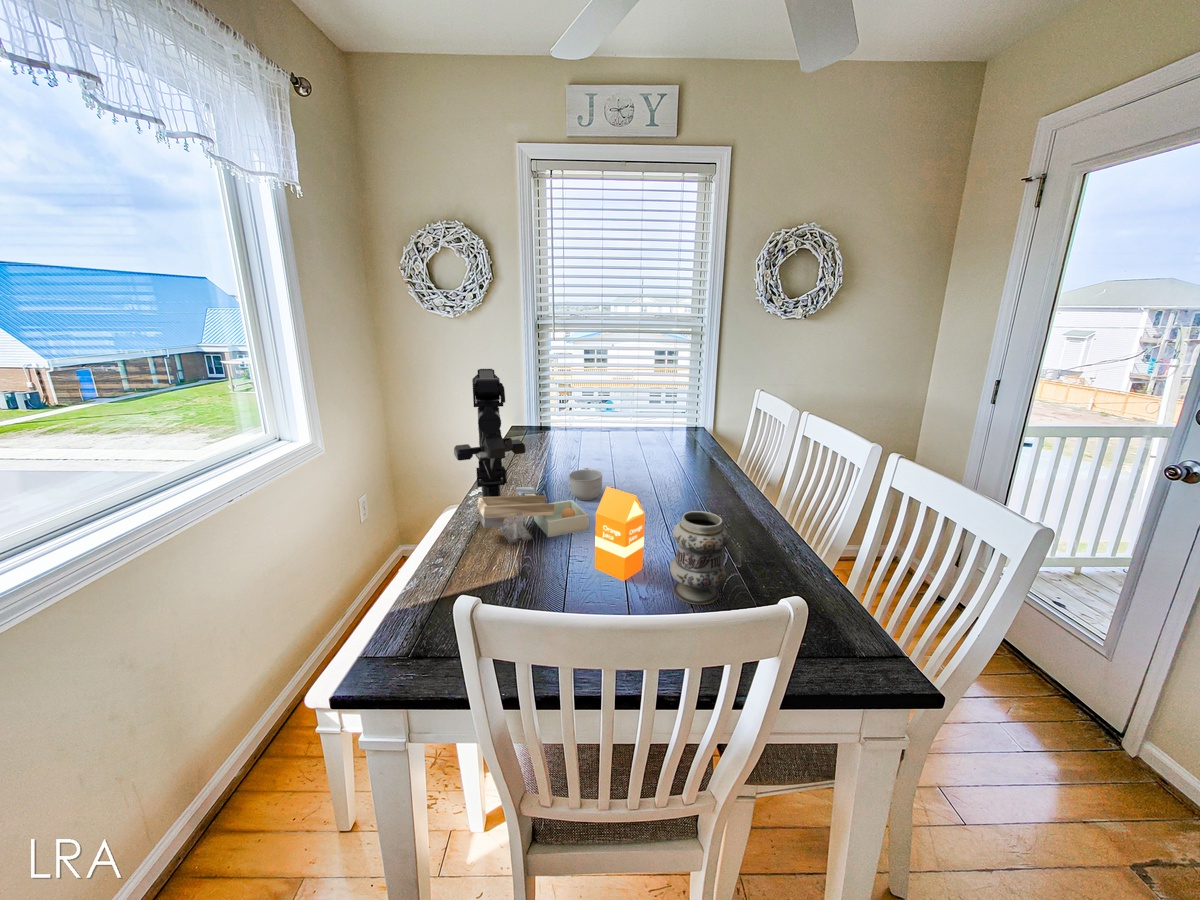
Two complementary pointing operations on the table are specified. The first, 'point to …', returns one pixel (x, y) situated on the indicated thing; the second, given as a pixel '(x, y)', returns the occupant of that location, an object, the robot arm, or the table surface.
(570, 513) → the ball
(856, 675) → the table surface
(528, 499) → the lever
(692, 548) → the apothecary jar
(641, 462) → the table surface
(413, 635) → the table surface
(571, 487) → the teacup
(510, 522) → the pivot stand
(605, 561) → the orange juice
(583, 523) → the bin
